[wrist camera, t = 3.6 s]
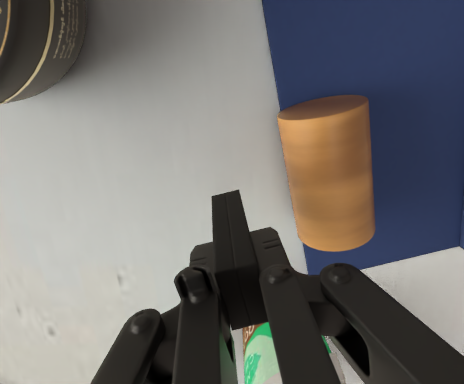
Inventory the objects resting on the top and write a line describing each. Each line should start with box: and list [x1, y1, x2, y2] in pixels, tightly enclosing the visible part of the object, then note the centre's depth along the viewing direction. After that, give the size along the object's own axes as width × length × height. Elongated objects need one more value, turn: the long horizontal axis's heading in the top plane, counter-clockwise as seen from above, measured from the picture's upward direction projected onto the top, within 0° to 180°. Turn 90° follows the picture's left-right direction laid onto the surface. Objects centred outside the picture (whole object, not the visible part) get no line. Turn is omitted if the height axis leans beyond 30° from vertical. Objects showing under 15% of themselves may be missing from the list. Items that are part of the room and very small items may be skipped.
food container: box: [243, 322, 346, 384], centre depth 22 cm, size 12×6×10 cm, turn 6°
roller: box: [277, 95, 375, 252], centre depth 19 cm, size 8×5×5 cm, turn 13°
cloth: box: [262, 0, 464, 275], centre depth 20 cm, size 22×14×1 cm, turn 13°
